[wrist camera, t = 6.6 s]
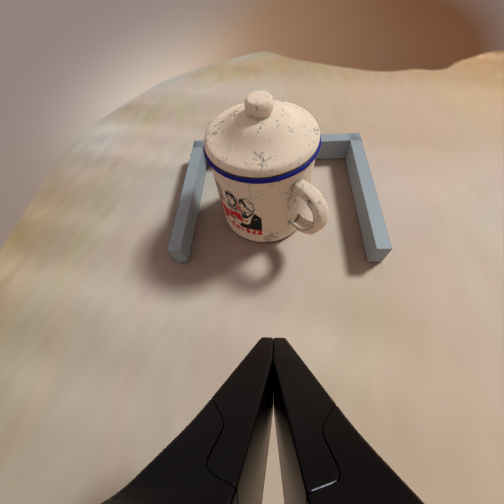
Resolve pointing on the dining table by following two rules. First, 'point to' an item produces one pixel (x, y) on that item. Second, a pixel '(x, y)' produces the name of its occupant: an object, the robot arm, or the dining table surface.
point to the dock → (330, 148)
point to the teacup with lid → (266, 168)
